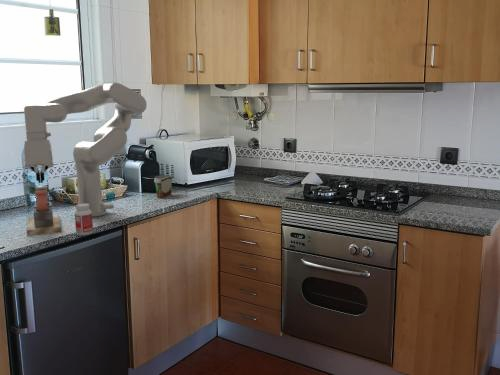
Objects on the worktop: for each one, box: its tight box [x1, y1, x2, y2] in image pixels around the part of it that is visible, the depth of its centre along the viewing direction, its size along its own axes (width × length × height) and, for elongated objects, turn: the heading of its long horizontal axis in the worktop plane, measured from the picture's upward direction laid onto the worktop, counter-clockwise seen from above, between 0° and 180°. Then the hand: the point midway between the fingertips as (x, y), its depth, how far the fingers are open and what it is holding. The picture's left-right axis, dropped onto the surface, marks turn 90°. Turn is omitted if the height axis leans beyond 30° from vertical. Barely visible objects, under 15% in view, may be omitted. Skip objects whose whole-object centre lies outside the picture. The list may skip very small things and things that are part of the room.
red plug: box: [34, 189, 48, 212], centre depth 203 cm, size 4×4×9 cm
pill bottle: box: [74, 203, 94, 236], centre depth 198 cm, size 6×6×11 cm
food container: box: [153, 174, 173, 200], centre depth 266 cm, size 12×6×10 cm, turn 161°
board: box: [26, 201, 63, 236], centre depth 210 cm, size 12×22×8 cm, turn 21°
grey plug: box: [34, 185, 48, 205], centre depth 213 cm, size 4×4×9 cm
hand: (40, 182), depth 212 cm, fingers closed
